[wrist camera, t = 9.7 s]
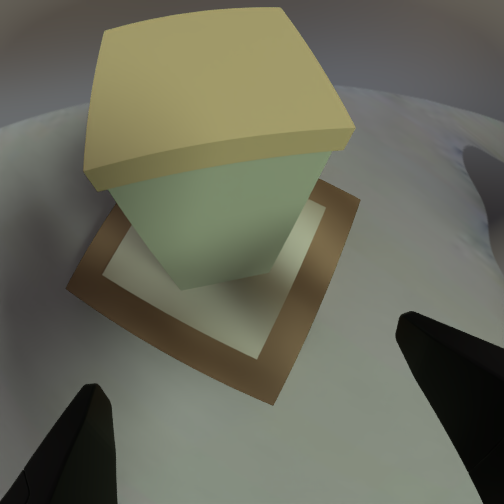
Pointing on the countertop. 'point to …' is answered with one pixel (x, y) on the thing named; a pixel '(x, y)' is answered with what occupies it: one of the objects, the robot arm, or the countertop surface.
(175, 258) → the tea tin
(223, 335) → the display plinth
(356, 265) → the countertop surface
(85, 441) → the robot arm
